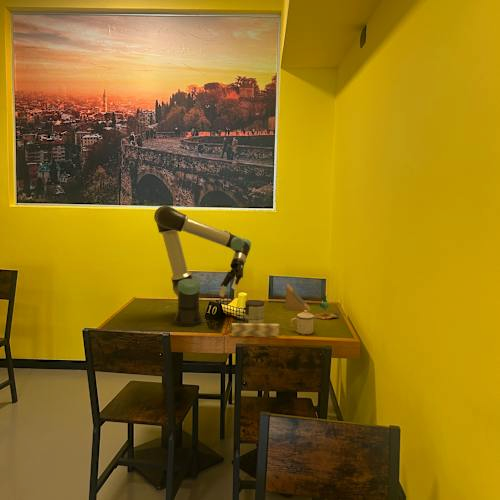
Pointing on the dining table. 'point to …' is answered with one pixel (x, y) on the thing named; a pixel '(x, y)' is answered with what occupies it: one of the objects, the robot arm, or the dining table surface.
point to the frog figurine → (324, 305)
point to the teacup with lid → (304, 322)
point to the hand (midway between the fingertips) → (227, 292)
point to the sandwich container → (294, 300)
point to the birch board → (255, 329)
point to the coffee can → (254, 311)
